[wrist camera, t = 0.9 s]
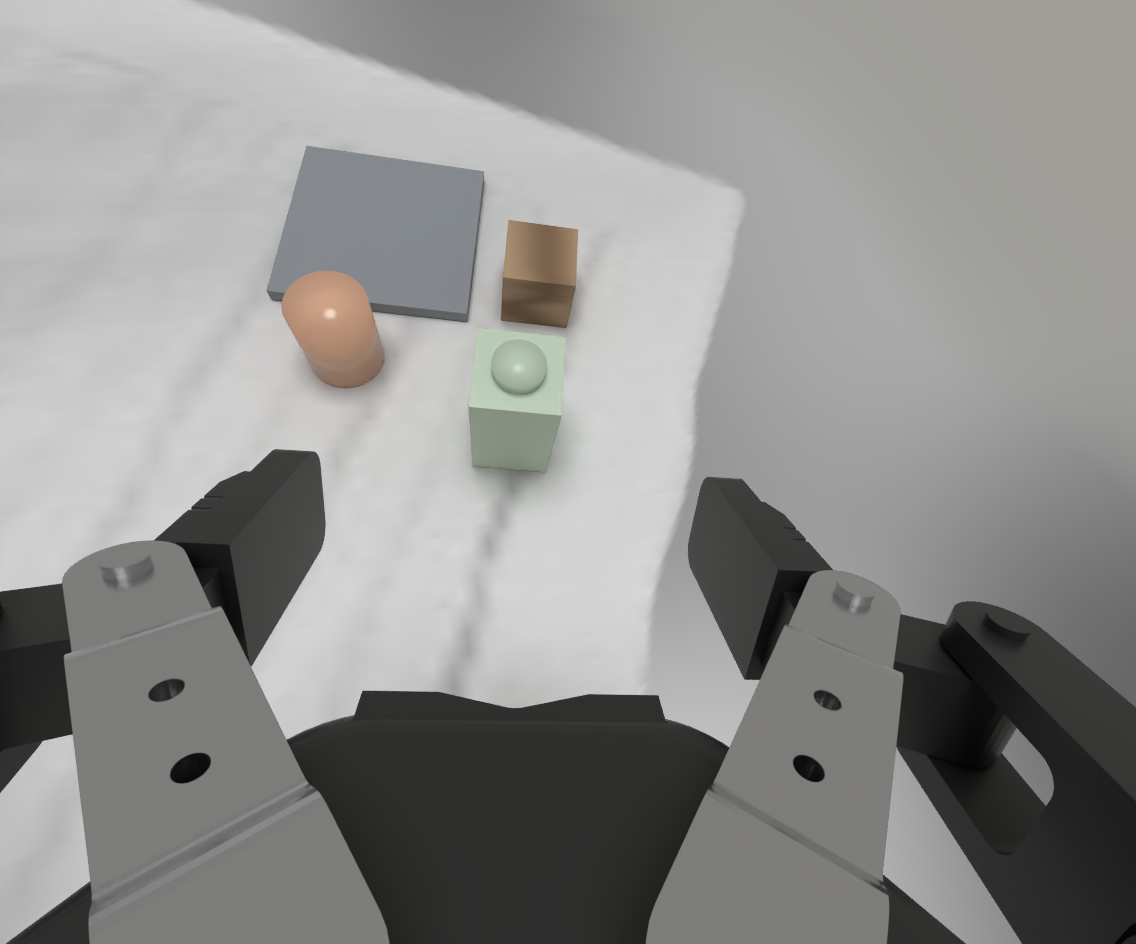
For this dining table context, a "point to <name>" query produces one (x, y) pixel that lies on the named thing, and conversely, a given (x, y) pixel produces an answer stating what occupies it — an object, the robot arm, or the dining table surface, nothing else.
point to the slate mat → (384, 231)
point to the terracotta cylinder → (334, 327)
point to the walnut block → (539, 274)
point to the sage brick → (515, 399)
